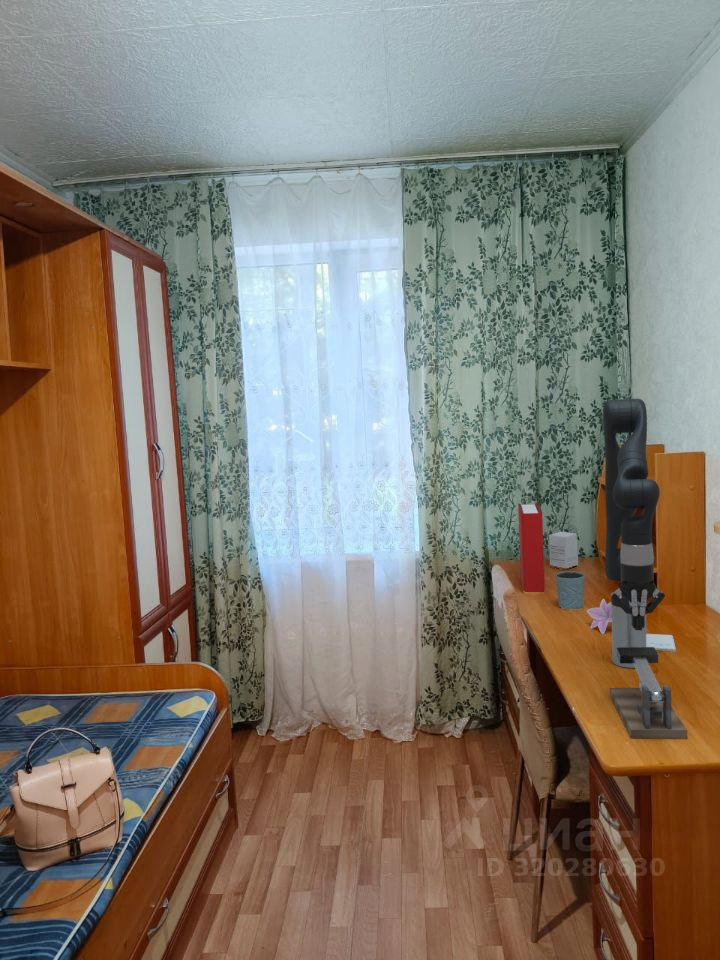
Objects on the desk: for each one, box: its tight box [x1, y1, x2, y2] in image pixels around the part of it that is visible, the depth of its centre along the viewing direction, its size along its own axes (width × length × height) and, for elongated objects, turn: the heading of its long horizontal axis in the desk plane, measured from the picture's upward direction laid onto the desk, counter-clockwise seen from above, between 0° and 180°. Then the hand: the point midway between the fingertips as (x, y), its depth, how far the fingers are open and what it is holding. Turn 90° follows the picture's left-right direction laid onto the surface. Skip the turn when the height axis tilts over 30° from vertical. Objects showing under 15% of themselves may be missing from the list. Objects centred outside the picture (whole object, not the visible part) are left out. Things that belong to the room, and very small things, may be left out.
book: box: [517, 502, 546, 592], centre depth 298 cm, size 27×8×32 cm, turn 170°
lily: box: [586, 598, 612, 635], centre depth 241 cm, size 12×12×10 cm
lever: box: [617, 647, 665, 702], centre depth 176 cm, size 21×9×4 cm, turn 173°
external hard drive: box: [646, 633, 677, 653], centre depth 225 cm, size 2×8×12 cm
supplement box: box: [548, 531, 579, 568], centre depth 326 cm, size 9×9×15 cm
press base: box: [609, 684, 688, 740], centre depth 177 cm, size 24×12×11 cm, turn 173°
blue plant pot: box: [555, 570, 586, 610], centre depth 267 cm, size 10×10×12 cm
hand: (637, 629), depth 182 cm, fingers closed
